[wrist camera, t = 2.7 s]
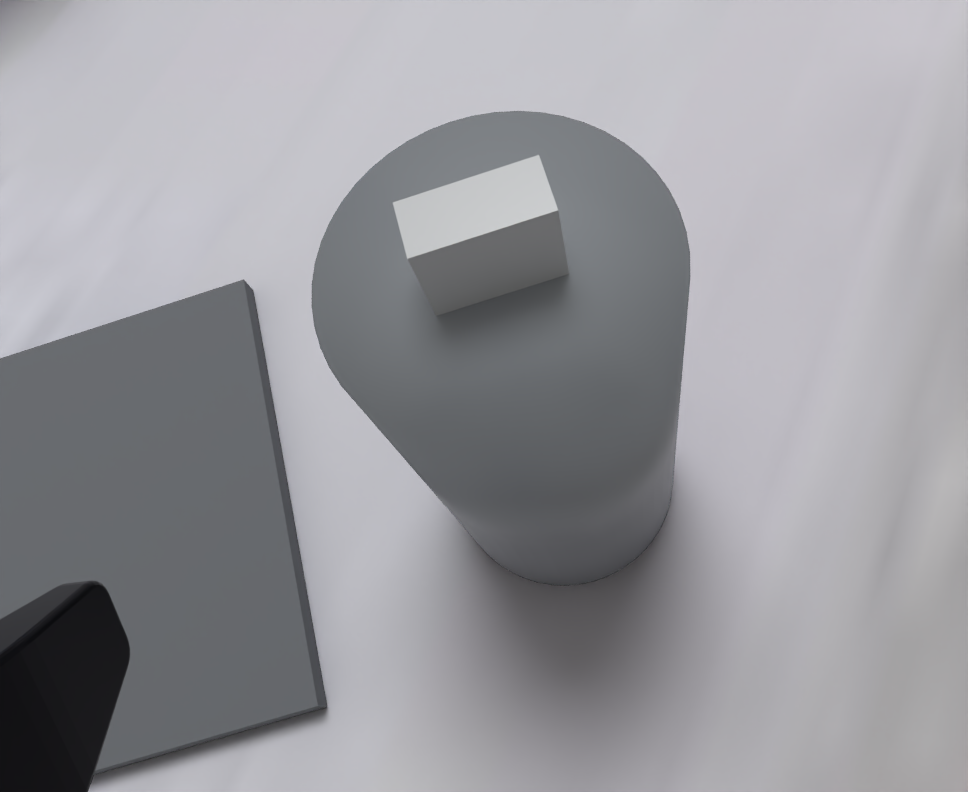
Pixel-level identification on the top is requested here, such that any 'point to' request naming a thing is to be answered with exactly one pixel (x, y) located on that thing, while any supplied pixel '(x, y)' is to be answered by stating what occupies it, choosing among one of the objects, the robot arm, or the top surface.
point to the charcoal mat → (163, 516)
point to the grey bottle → (517, 333)
